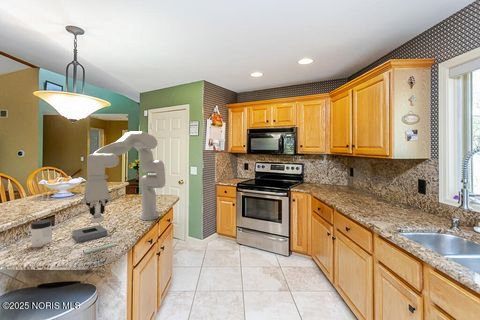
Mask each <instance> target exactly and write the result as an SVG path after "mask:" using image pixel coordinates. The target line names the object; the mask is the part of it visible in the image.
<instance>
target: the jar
mask: <svg viewBox="0 0 480 320" xmlns="http://www.w3.org/2000/svg"><path fill="white" fill-rule="evenodd" d="M30 228H31V248H43V247H44V245H46V244H50V243H52V242H53V228H52V219H39V220H37V221H33V222H31V224H30Z"/></svg>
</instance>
